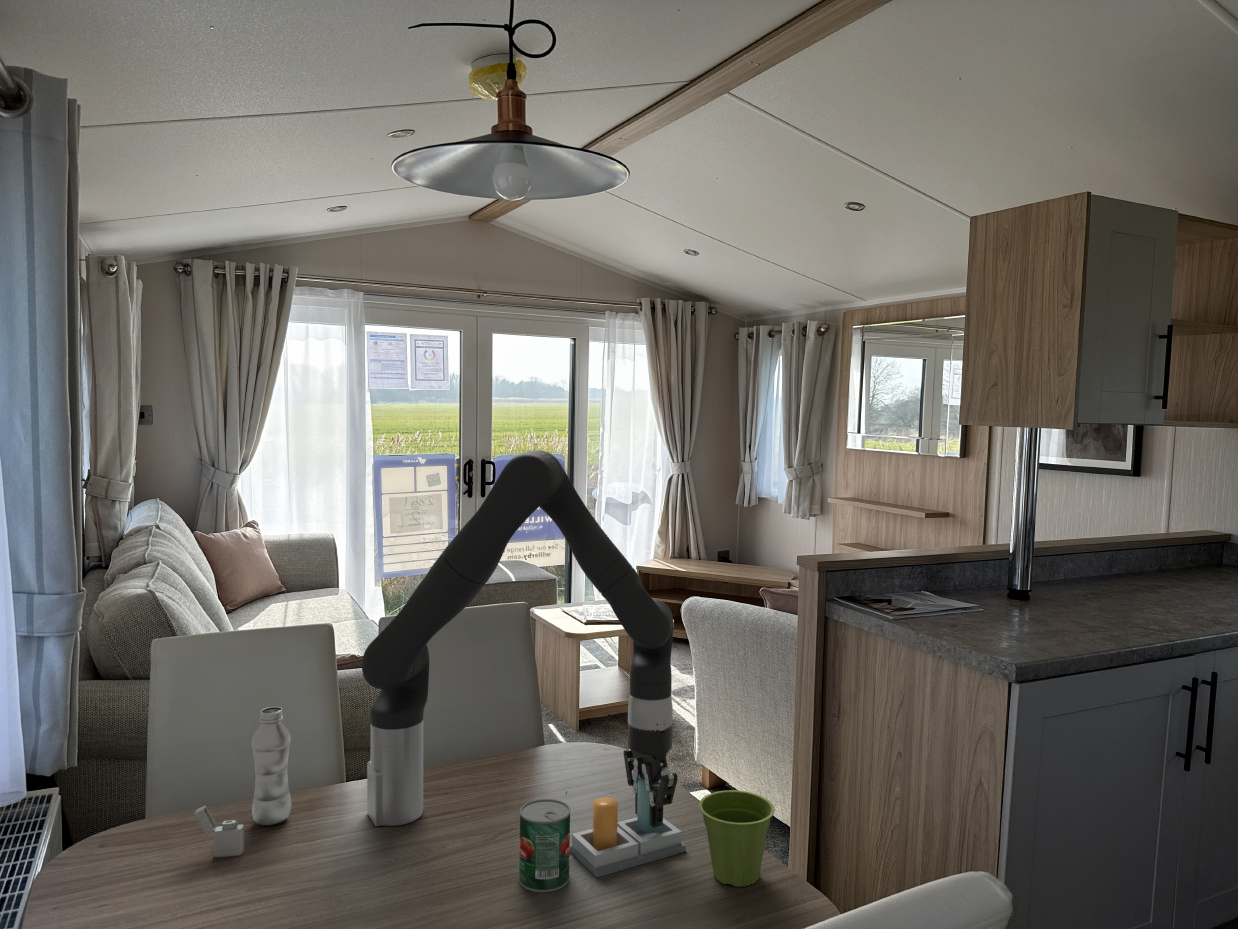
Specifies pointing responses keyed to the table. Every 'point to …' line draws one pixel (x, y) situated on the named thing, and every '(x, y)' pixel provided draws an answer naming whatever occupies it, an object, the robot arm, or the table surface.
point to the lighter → (222, 834)
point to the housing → (627, 847)
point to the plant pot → (736, 834)
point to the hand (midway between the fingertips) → (648, 819)
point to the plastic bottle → (271, 768)
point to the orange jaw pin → (605, 823)
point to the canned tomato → (544, 845)
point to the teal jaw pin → (644, 808)
